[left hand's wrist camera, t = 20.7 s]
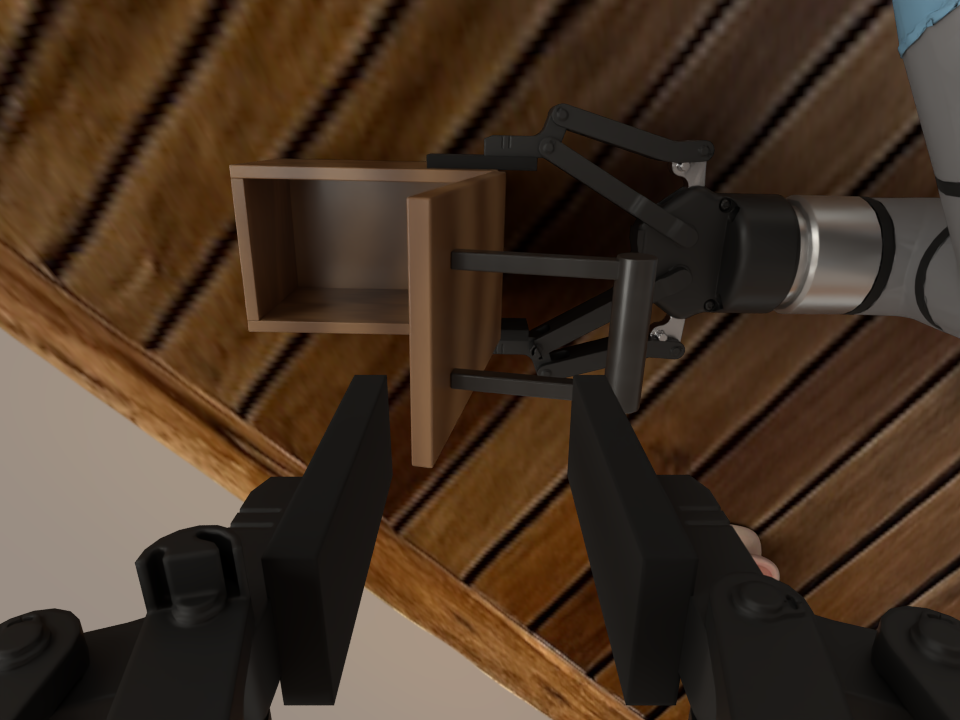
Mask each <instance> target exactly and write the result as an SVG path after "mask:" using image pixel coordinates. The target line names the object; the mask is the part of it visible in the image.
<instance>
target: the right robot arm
mask: <svg viewBox="0 0 960 720" xmlns="http://www.w3.org/2000/svg"><path fill="white" fill-rule="evenodd" d="M892 2H893V8H894V14H895V20H896V27H897V33H898V40H899V47H898V51H899V54H900V57H901V58H903V61H904V65H905V68H906V72H907V76H908V79H909V83H910V86H911V90H912V94H913V97H914V101H915V105H916V108H917V112H918V116H919V119H920V123H921V126H922V130H923V134H924V137H925V141H926V145H927V148H928V152H929V156H930V159H931V163H932V167H933V170H934V174H935V178H936V182H937V186H938V190H939V194H940V198H869V197H859V196H819V195H791V196H789V197H786V198H784V197H782V196H781V195H776V194H731V193H715V192H713V191H711V190H709V189H708V188H706V187H705V174H706V162H707V161H708V160H709V159H711V157H712V156H713V154H714V146H713V144H712V143H711V142H710V141H706V140H681V141H673V140H670V139H667V138H664V137H661V136H658V135H655V134H652V133H649V132H646V131H643V130H640V129H638V128H635V127H632V126H629V125H626V124H623V123H620V122H617V121H614V120H611V119H608V118H605V117H603V116H600V115H597V114H594V113H591V112H588V111H585V110H582V109H579V108H576V107H573V106H570V105H567V104H559V105H556V106H554V107H552V108H551V109H550V110H549V112H548V117H547V119H546V122H545V124H544V127H543V129H542V130H541V132H540V133H538V134H537V135H534V136H502V135H492V136H490V137H487V138H485V139H484V155H473V154H428V155H427V168H451V169H496V170H527V171H537V158H544V159H546V160H547V161H549V162H551V163H552V164H554V165H555V166H557V167H558V168H560V169H561V170H563V171H564V172H566V173H568V174H569V175H571V176H572V177H574V178H575V179H577V180H578V181H580V182H581V183H583V184H585V185H586V186H588V187H589V188H591V189H592V190H594V191H595V192H597V193H598V194H600V195H602V196H603V197H605V198H606V199H608V200H609V201H611V202H612V203H614V204H616V205H617V206H619V207H620V208H621V209H623V210H624V211H626V212H628V213H629V214H631V215H632V216H634V217H635V218H637V220H636V221H635V223H634V225H633V226H631V229H630V243H631V252H630V253H644V254H650V255H654V256H656V257H657V258H658V263H657V271H656V279H655V287H654V295H653V303H654V304H656V305H657V306H658V307H659V308H661V309H662V310H663V311H664V312H666V313H667V314H666V317H665V318H664V319H663V320H662V321H659V322H654V323H652V324H651V325H650V327H649V335H648V343H647V351H646V358H648V357H653V358H665V359H678V358H680V357H682V356H683V355H684V352H685V347H684V345H683V344H682V343H681V336H682V332H683V327H684V322H685V319H686V318H689V317H691V316H693V315H695V314H698V313H702V312H718V313H768V312H770V311H772V310H774V311H775V312H777V313H781V314H850V315H854V314H859V315H887V316H902V317H907V318H912V319H915V320H917V321H919V322H922V323H924V324H926V325H929V326H931V327H933V328H936V329H938V330H940V331H943V332H946V333H949V334H951V335H953V336H955V337H958V338H960V0H892ZM566 130H567V131H570V132H573V133H576V134H579V135H582V136H585V137H588V138H591V139H594V140H597V141H600V142H603V143H606V144H609V145H612V146H615V147H618V148H621V149H624V150H627V151H630V152H633V153H636V154H638V155H641V156H644V157H647V158H650V159H654V160H659V161H665V162H668V169H669V171H670V173H672V174H673V175H677V176H680V177H681V178H682V179H683V182H684V186H683V187H681V188H680V189H678V190H677V191H675V192H674V193H672V194H671V195H669V196H668V197H666V198H665V199H663V200H662V201H660V202H659V203H657V204H655V203H654V202H652V201H650V200H649V199H647V198H646V197H644V196H642V195H641V194H639V193H637V192H636V191H634V190H633V189H631V188H630V187H628V186H627V185H625V184H624V183H622V182H621V181H619V180H618V179H616V178H615V177H613V176H611V175H610V174H608V173H607V172H605V171H604V170H602V169H601V168H599V167H598V166H596V165H595V164H593V163H592V162H590V161H589V160H587V159H586V158H584V157H583V156H581V155H579V154H578V153H576V152H575V151H573V150H572V149H570V148H569V147H567V146H566V145H564V144H563V143H561V142H562V139H563V137H564V134H565V132H566ZM613 288H614V286H613V287H612V288H611V289H610V290H608V291H606V292H604V293H602V294H600V295H598V296H596V297H594V298H592V299H590V300H588V301H586V302H584V303H582V304H580V305H579V306H577V307H575V308H573V309H571V310H569V311H567V312H565V313H563V314H561V315H559V316H557V317H555V318H553V319H551V320H549V321H548V322H546V323H544V324H542V325H540V326H538V327H536V328H534V329H532V330H530V331H529V329H528V325H527V321H526V318H501V338H500V340H499V342H498V344H497V346H496V348H495V350H494V352H493V354H523V355H527V356H529V357H530V358H531V359H532V361H533V363H534V366H535V369H536V372H537V376H547V377H558V378H567V377H571V376H573V375H579V374H583V373H587V372H591V371H595V370H599V369H603V368H605V367H606V357H607V347H608V338H609V337H606V338H602V339H598V340H594V341H590V342H586V343H582V344H578V345H574V346H570V347H566V348H562V349H558V350H555V349H557V348H559V347H561V346H563V345H565V344H567V343H569V342H571V341H573V340H575V339H577V338H579V337H581V336H583V335H585V334H587V333H589V332H591V331H593V330H595V329H597V328H599V327H601V326H603V325H605V324H607V323H609V322H610V318H611V308H612V298H613ZM553 350H554V351H553Z"/></svg>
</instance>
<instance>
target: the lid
mask: <svg viewBox="0 0 960 720" xmlns="http://www.w3.org/2000/svg"><path fill="white" fill-rule="evenodd" d="M505 196H506V172H503V171H492V172H489V173H486V174H482V175H479V176H476V177H472V178H469V179H466V180H462V181H459V182H456V183H452V184H449V185H446V186H443V187H439V188H436V189H433V190H429V191H426V192H423V193H419V194H416V195H413V196H410V197H407V248H408V296H409V344H410V392H411V440H412V465H413V466H419V467H427V468H432V467H433V466H434V464H435V462H436V460H437V458H438V456H439V454H440V453H441V451H442V449H443V447H444V445H445V443H446V441H447V439H448V437H449V435H450V434H451V432H452V430H453V428H454V426H455V424H456V422H457V420H458V418H459V416H460V415H461V413H462V411H463V409H464V407H465V405H466V403H467V401H468V399H469V397H470V396H471V394H472V392H473V391H481V392H491V393H501V394H512V395H522V396H532V397H542V398H552V399H562V400H572V390H573V379H569V378H558V377H547V376H536V375H525V374H514V373H504V372H493V371H484V369H485V367H486V365H487V363H488V361H489V359H490V358H491V356H492V354H493V352H494V350H495V348H496V346H497V344H498V342H499V340H500V338H501V310H502V282H503V273H513V274H529V275H545V276H561V277H577V278H593V279H609V280H614V288H613V298H612V308H611V318H610V328H609V338H608V347H607V357H606V367H605V376H606V377H607V379H608V381H609V383H610V385H611V387H612V389H613V391H614V393H615V395H616V397H617V399H618V401H619V403H620V405H621V407H622V409H623V411H624V413H633V412H636V411H637V410H638V409H639V406H640V398H641V390H642V382H643V375H644V367H645V359H646V351H647V343H648V335H649V327H650V319H651V311H652V303H653V295H654V287H655V279H656V271H657V263H658V258H657V257H656V256H654V255H650V254H644V253H621V254H618V255H617V258H614V257H596V256H578V255H561V254H543V253H525V252H508V251H504V224H505Z"/></svg>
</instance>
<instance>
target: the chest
mask: <svg viewBox="0 0 960 720" xmlns="http://www.w3.org/2000/svg"><path fill="white" fill-rule="evenodd" d="M229 167H230V175H231V184H232V193H233V201H234V210H235V218H236V226H237V235H238V243H239V252H240V260H241V269H242V277H243V286H244V294H245V302H246V311H247V319H248V327H249V331H250V332H302V333H354V334H406V335H409V296H408V248H407V197H410V196H413V195H416V194H419V193H423V192H426V191H429V190H433V189H436V188H439V187H443V186H446V185H449V184H452V183H456V182H459V181H462V180H466V179H469V178H472V177H476V176H479V175H482V174H486V173H489V172H492V171H498V170H496V169H451V168H427V162H416V161H371V160H326V159H273V160H265V161H257V162H249V163H241V164H233V165H230V166H229Z"/></svg>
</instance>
